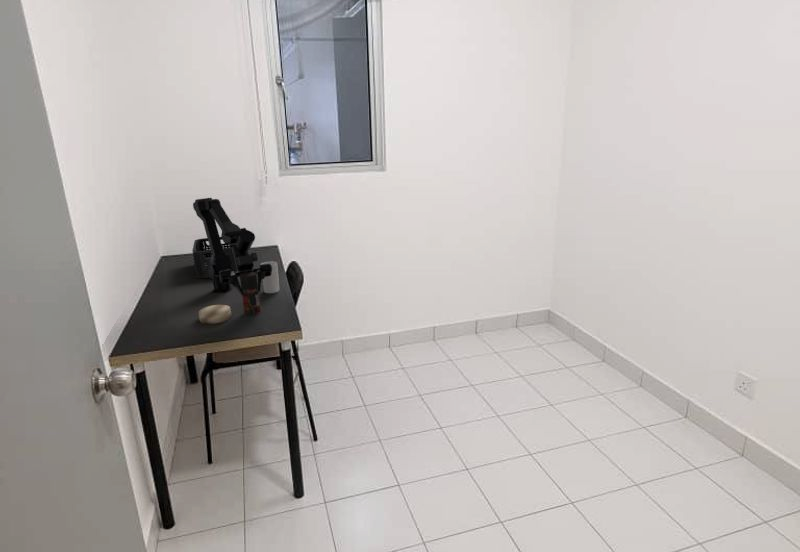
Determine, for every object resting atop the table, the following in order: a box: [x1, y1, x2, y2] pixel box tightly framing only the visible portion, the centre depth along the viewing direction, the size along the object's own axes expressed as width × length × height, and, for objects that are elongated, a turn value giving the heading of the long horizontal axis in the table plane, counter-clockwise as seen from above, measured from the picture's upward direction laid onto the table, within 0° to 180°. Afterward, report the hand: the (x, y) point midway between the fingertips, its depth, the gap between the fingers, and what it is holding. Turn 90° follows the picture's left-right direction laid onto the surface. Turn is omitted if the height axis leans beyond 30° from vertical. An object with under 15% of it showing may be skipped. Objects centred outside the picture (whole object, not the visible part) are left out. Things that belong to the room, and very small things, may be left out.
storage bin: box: [191, 236, 237, 279], centre depth 239 cm, size 29×19×13 cm
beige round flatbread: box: [198, 304, 232, 325], centre depth 181 cm, size 11×11×3 cm
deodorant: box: [239, 272, 262, 316], centre depth 183 cm, size 6×6×15 cm
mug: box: [261, 261, 280, 294], centre depth 207 cm, size 10×7×12 cm, turn 9°
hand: (250, 293), depth 182 cm, fingers closed on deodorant, 6 cm apart
